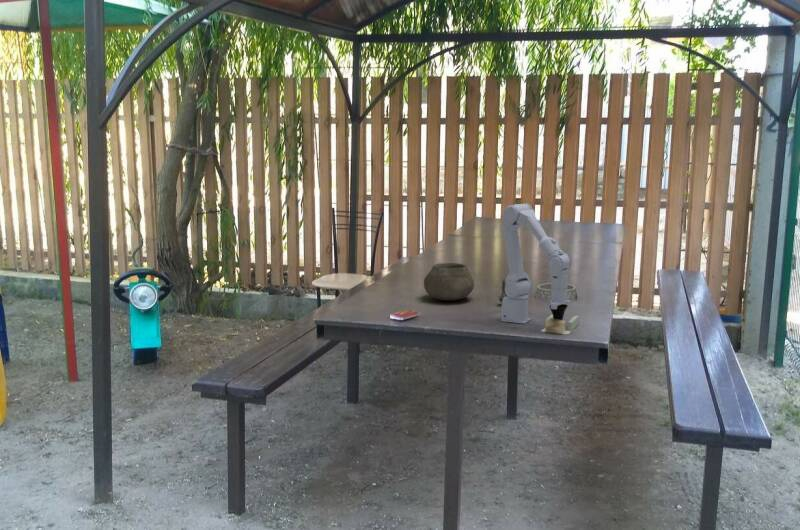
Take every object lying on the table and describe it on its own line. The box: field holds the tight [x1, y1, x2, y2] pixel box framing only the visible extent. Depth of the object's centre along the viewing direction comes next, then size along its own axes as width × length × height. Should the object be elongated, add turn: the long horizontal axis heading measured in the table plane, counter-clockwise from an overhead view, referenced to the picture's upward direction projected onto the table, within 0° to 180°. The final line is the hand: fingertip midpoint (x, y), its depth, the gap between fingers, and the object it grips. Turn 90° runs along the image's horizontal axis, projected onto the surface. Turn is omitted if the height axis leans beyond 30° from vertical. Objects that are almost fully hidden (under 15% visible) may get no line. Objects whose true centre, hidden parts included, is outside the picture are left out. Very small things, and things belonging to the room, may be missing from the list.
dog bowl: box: [535, 282, 578, 303], centre depth 331 cm, size 17×18×5 cm
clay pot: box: [423, 262, 475, 302], centre depth 327 cm, size 22×21×15 cm
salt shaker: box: [498, 278, 508, 307], centre depth 317 cm, size 6×6×12 cm
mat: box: [540, 327, 572, 335], centre depth 278 cm, size 10×5×1 cm, turn 64°
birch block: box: [544, 318, 567, 335], centre depth 277 cm, size 6×4×4 cm
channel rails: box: [544, 313, 580, 332], centre depth 285 cm, size 10×11×3 cm
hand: (557, 324), depth 280 cm, fingers closed
